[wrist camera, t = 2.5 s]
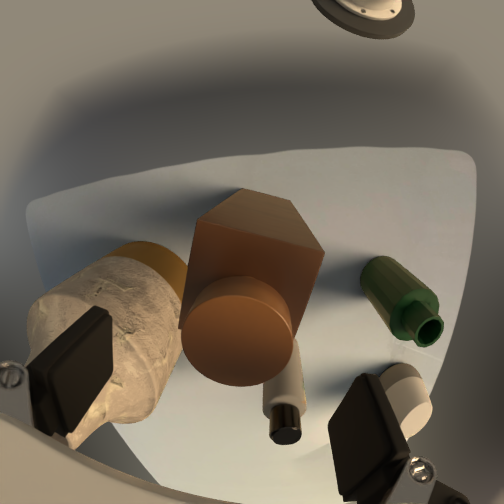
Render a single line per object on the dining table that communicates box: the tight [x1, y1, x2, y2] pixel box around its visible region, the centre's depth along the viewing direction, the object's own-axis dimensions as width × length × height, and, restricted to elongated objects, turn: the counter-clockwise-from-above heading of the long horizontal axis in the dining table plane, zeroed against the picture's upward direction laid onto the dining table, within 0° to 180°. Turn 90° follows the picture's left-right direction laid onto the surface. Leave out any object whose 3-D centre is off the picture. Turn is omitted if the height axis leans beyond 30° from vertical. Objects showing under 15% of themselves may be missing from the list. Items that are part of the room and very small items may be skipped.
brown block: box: [178, 188, 325, 340], centre depth 28 cm, size 7×7×26 cm
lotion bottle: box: [263, 338, 306, 445], centre depth 37 cm, size 6×6×20 cm
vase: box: [25, 241, 188, 450], centre depth 31 cm, size 18×18×30 cm
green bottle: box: [360, 256, 444, 347], centre depth 34 cm, size 7×7×17 cm
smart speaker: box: [379, 363, 432, 438], centre depth 41 cm, size 10×9×14 cm
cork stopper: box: [181, 276, 293, 387], centre depth 13 cm, size 5×5×5 cm
